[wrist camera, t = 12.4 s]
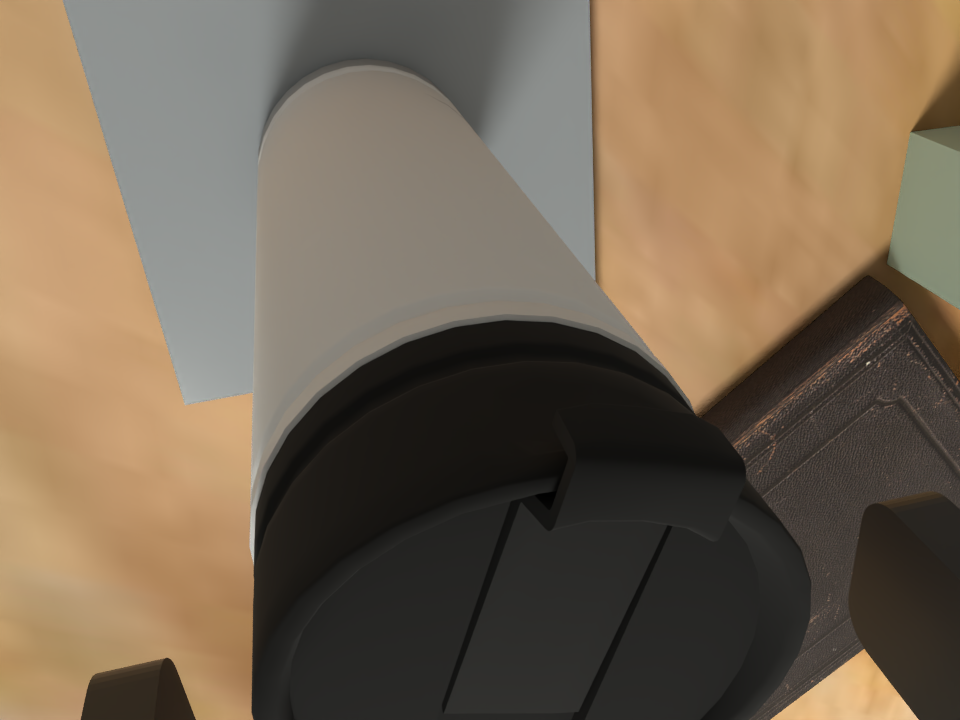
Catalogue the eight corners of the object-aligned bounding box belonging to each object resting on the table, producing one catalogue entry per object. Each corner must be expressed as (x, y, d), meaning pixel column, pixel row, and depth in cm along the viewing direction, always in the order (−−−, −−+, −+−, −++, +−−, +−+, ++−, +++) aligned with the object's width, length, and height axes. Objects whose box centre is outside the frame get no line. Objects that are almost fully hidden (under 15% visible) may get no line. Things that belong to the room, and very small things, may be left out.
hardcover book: (1013, 478, 41) (1050, 509, 39) (645, 761, 46) (662, 801, 44) (859, 267, 34) (896, 292, 32) (433, 634, 38) (443, 675, 36)
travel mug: (494, 70, 26) (961, 477, 8) (443, 278, 28) (715, 896, 11) (275, 20, 24) (306, 412, 7) (244, 247, 26) (208, 933, 9)
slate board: (49, -75, 22) (41, -73, 22) (575, -130, 24) (586, -130, 24) (187, 389, 29) (185, 405, 29) (587, 317, 31) (596, 330, 31)
